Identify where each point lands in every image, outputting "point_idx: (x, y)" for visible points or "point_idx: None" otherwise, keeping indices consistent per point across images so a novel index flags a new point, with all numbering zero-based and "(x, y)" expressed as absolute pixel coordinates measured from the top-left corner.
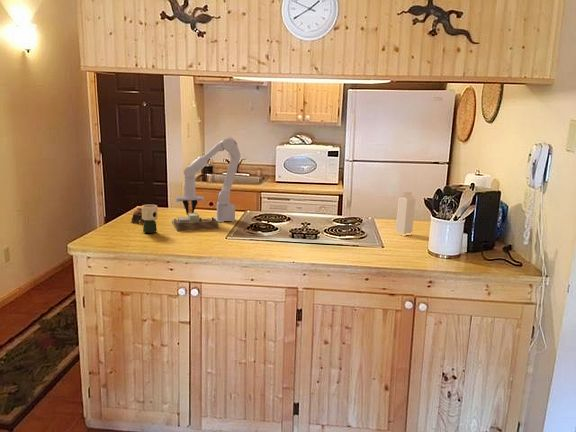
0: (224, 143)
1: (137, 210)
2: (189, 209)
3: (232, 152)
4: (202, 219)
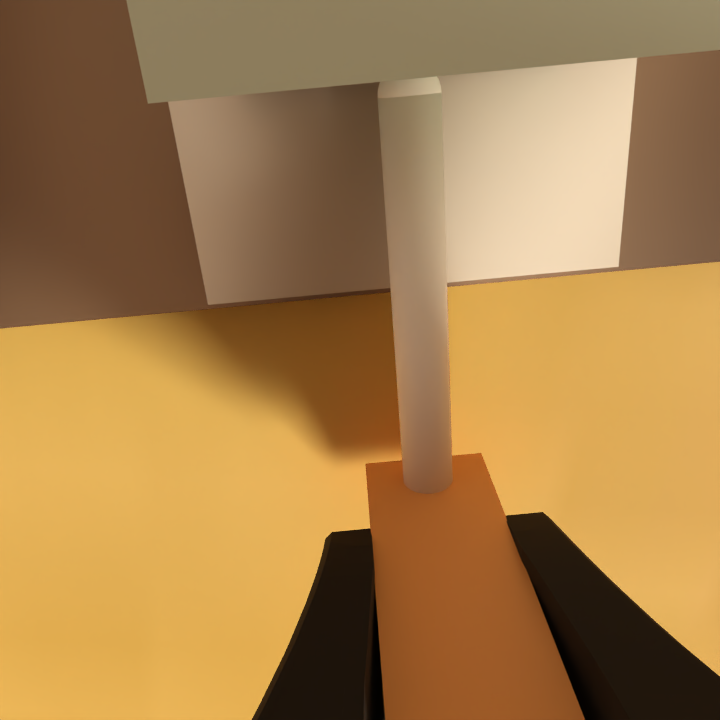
0: None
1: None
2: (516, 690)
3: None
4: (35, 270)
